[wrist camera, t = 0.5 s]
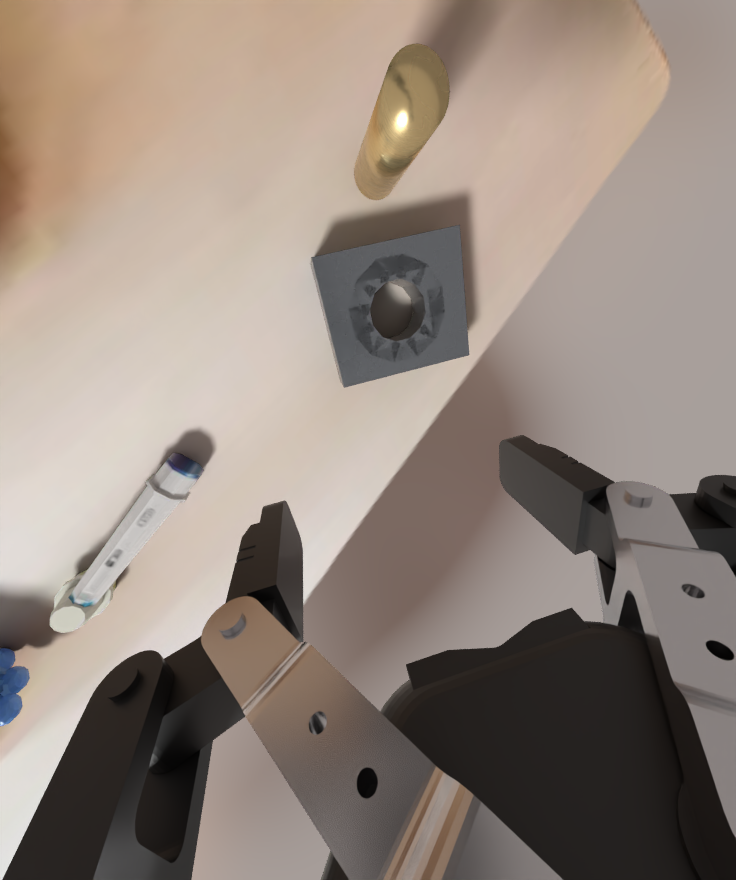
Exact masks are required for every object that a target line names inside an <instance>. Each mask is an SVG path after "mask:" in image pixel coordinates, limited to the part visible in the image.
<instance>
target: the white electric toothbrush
mask: <svg viewBox="0 0 736 880" xmlns="http://www.w3.org/2000/svg"><path fill="white" fill-rule="evenodd" d="M203 471H204V469H203V468H202V467H201V466H200V465H199V464H198V463H196V462H195V461H193V460H191V459H189V458H188V457H186V456H184V455H182V454H177V453H173V454H172V455H171V456H170V457H169V458H168V459H167V460H166V462H165V463H164V464H163V466H162V467H161V468H160V469H159V471H158V472H157V473H156V474H153V475H152V476H151V477H150V478H149V479H148V480H147V481H146V482H145V483H146V484H147V487H146V488H145V490H144V491H143V492H142V494H141V495H140V497H139V498H138V499H137V501H136V502H135V504H134V505H133V507H132V508H131V509H130V511H129V512H128V514H127V515H126V516H125V518H124V519H123V521H122V522H121V523H120V525H119V526H118V528H117V529H116V531H115V532H114V533H113V535H112V536H111V538H110V539H109V540H108V542H107V543H106V545H105V546H104V548H103V549H102V550H101V552H100V553H99V555H98V556H97V557H96V559H95V560H94V562H93V563H92V564H91V566H90V567H89V569H87V570H86V571H84V572H82V573H78V575H77V576H76V577H75V578H74V579H72V580H70V581H68V582H66V583H65V584H64V585H63V587H62V588H61V589H60V591H59V592H58V593H57V594H56V596H55V598H54V610H53V611H52V612H51V615H50V626H51V628H52V629H53V630H54V631H57V632H60V633H66V632H72V631H74V630H76V629H78V628H80V627H81V626H83V625H84V624H86V622H87V621H88V620H89V619H91V618H93V617H95V616H97V615H98V614H100V613H102V612H103V611H104V609H105V608H106V607H107V605H108V604H109V603H110V601H111V600H112V598H113V591H114V590H115V588H116V579H117V578H118V576H119V575H120V574H121V573H122V572H123V570H124V569H125V568H126V567H127V566H128V564H129V563H130V562H131V561H132V560H133V558H134V557H135V556H136V555H137V554H138V552H139V551H140V550H141V549H142V547H143V546H144V545H145V544H146V543H147V541H148V540H149V539H150V538H151V537H152V535H153V534H154V533H155V532H156V531H157V529H158V528H159V527H160V526H161V525H162V523H163V522H164V521H165V520H166V518H167V517H168V516H169V515H170V514H171V512H172V511H173V510H174V509H175V508H176V506H177V505H178V504H179V503H180V502H185V500H186V499H187V497H188V496H189V494H190V492H189V490H190V489H191V487H192V486H193V485H194V484H195V482H196V481H197V480H198V478H199V477H200V476H201V474H202V473H203Z"/></svg>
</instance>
